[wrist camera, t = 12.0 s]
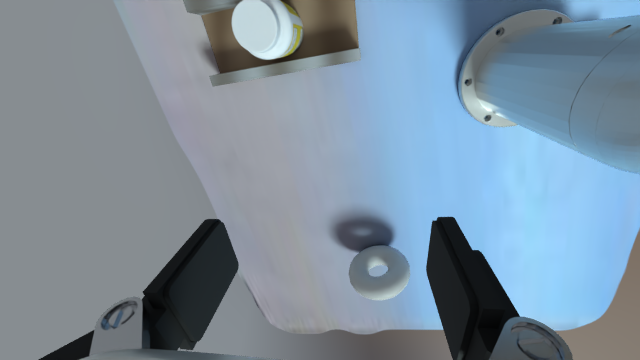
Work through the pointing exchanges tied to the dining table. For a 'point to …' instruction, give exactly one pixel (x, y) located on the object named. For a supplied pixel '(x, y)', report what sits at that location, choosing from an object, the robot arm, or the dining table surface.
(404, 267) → the donut
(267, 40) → the supplement bottle
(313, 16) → the track
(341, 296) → the dining table surface
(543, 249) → the dining table surface
